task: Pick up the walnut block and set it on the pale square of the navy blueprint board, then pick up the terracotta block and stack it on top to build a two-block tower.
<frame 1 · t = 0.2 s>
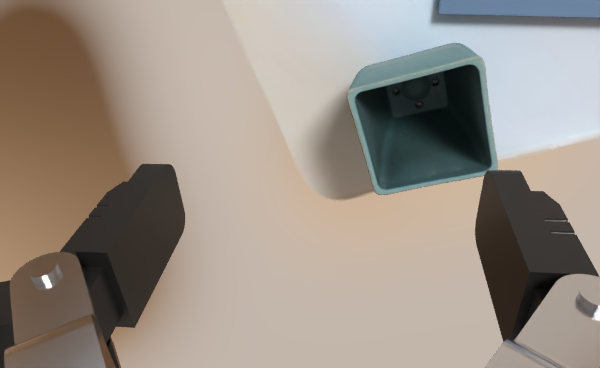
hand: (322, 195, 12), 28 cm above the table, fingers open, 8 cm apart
flower pot: (414, 83, 40), on the table
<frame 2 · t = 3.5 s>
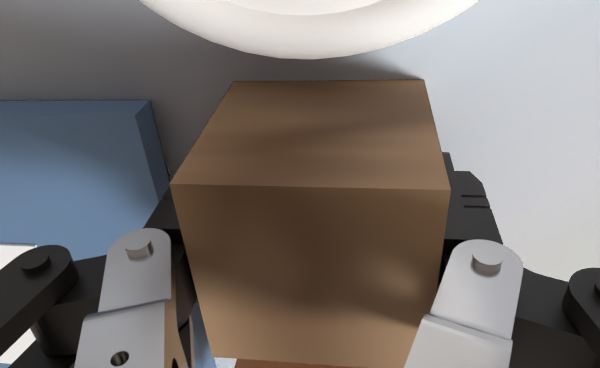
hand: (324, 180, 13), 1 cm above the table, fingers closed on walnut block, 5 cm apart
terracotta block: (333, 322, 18), on the table
blueprint board: (4, 288, 19), on the table
walnut block: (328, 162, 14), on the table, touching gripper
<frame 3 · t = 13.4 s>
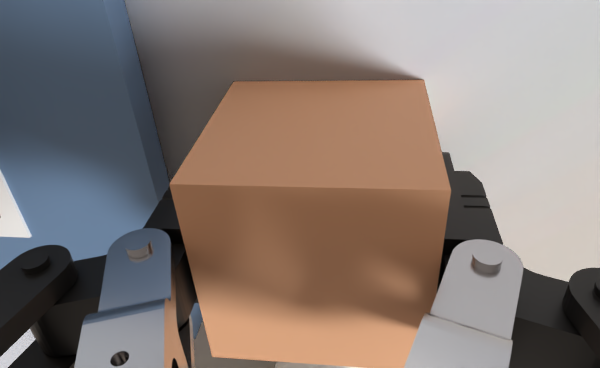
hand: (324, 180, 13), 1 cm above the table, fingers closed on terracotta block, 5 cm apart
terracotta block: (328, 162, 14), on the table, touching gripper
when the fingers open (8 cm above the table, at t = 18.8 s): terracotta block stays where it is, resting on walnut block.
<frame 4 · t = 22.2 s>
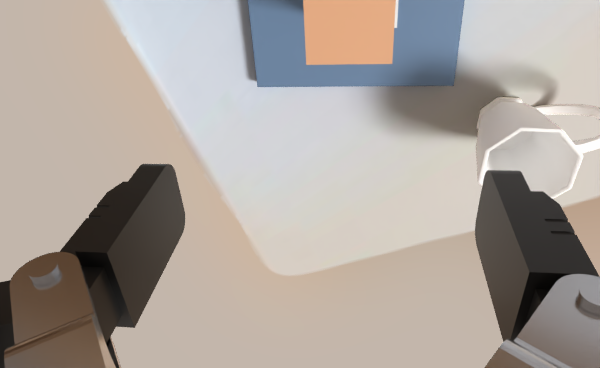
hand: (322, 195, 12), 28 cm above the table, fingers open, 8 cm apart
cup: (521, 113, 40), on the table
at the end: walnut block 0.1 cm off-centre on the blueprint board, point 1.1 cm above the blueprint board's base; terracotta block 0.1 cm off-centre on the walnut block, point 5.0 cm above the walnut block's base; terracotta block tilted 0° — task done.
